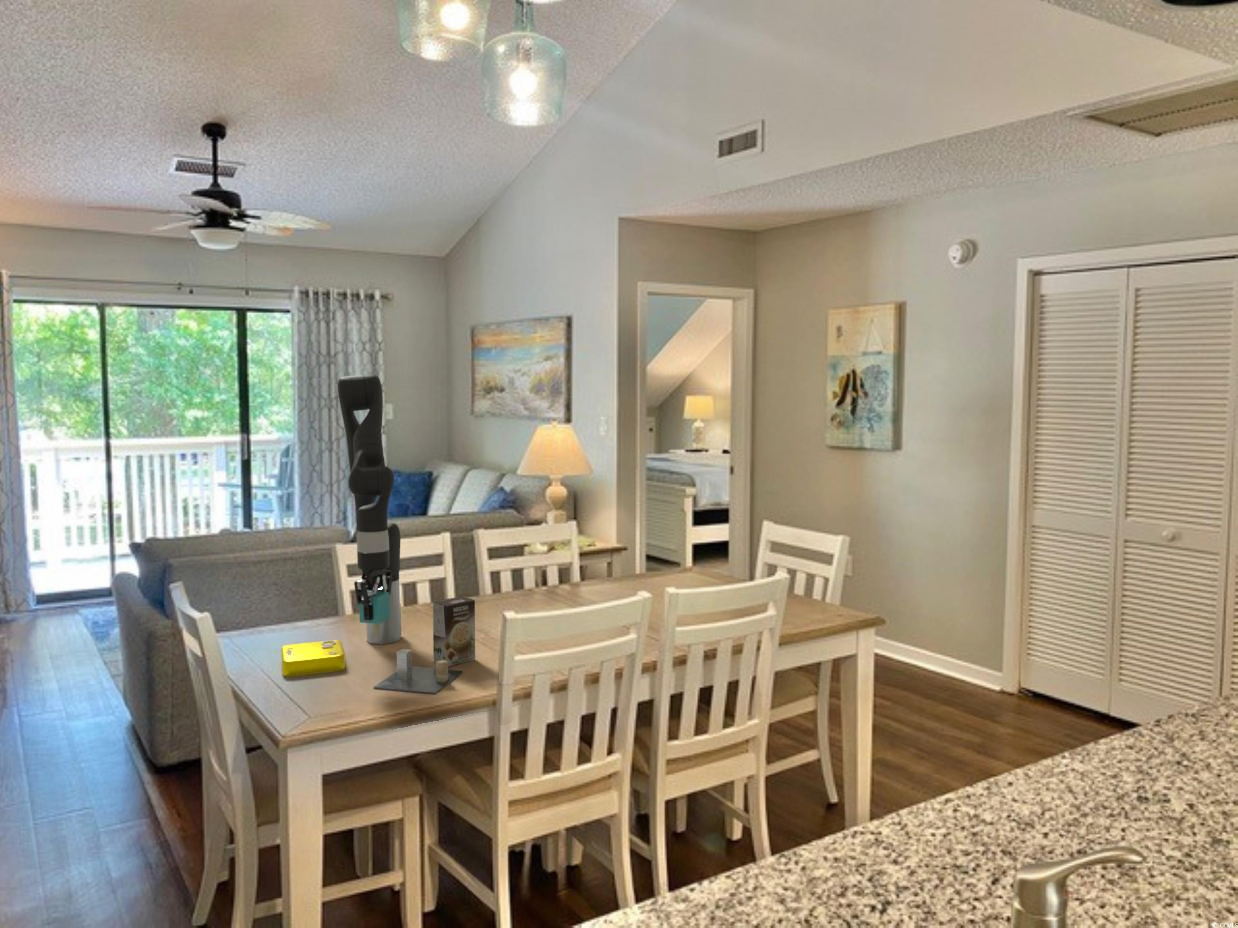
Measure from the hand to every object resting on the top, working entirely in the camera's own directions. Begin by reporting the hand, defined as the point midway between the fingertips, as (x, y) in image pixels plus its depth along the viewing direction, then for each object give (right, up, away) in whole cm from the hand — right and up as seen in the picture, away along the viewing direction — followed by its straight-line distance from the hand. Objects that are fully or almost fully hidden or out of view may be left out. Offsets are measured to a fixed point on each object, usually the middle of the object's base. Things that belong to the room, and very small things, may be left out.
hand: (374, 616), depth 223 cm
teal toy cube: (0, -1, 0) cm, 1 cm away
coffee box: (+17, -14, +15) cm, 27 cm away
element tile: (-19, -15, +12) cm, 27 cm away
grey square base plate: (+11, -16, 0) cm, 19 cm away
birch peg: (+17, -16, -1) cm, 23 cm away
